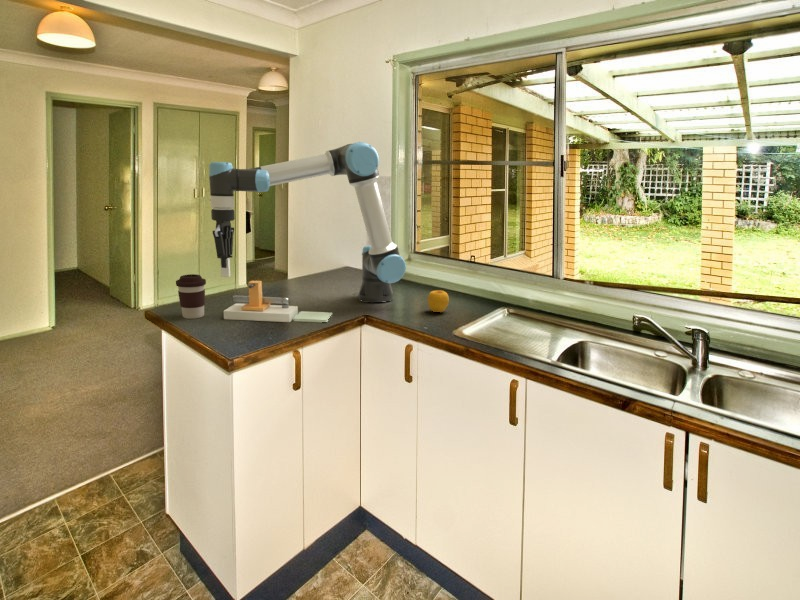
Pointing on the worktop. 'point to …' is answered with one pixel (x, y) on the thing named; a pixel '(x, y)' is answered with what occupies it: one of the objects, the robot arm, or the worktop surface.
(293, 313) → the socket block
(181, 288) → the coffee cup
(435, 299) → the apple
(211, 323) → the worktop surface
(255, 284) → the plug
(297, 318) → the pad
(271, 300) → the grey metal rod
